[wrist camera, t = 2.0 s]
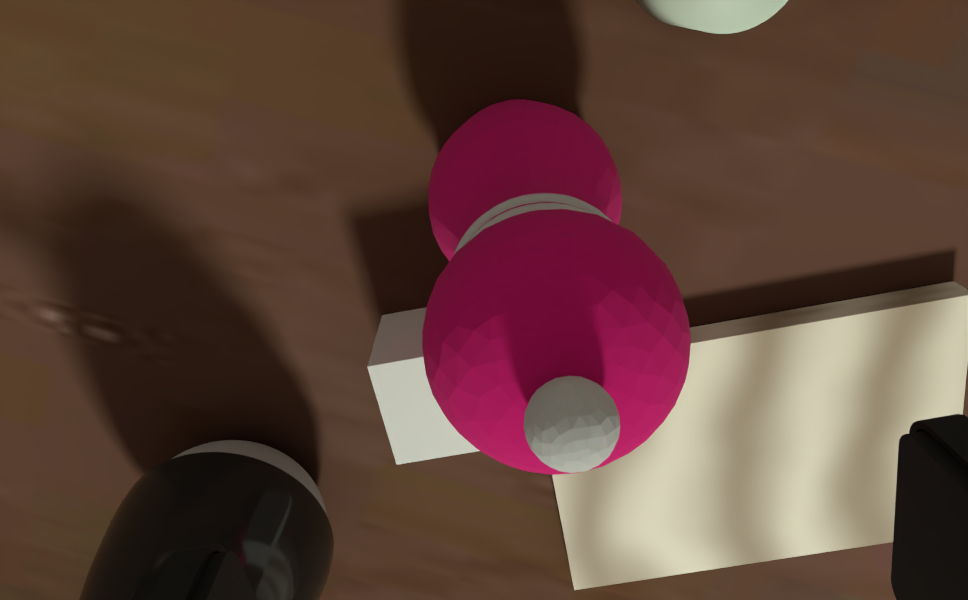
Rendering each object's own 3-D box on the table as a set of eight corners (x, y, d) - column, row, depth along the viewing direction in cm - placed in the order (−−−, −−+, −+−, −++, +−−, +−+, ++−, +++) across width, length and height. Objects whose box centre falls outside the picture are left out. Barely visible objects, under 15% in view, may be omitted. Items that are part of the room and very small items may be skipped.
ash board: (953, 281, 33) (974, 294, 31) (934, 513, 38) (950, 533, 37) (529, 355, 34) (532, 371, 33) (571, 569, 40) (574, 590, 38)
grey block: (485, 295, 33) (487, 345, 28) (504, 386, 35) (509, 445, 30) (382, 314, 33) (367, 366, 29) (407, 402, 35) (396, 464, 31)
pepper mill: (401, 187, 31) (289, 484, 12) (504, 48, 28) (551, 163, 10) (530, 280, 33) (596, 658, 14) (635, 157, 30) (877, 419, 12)
